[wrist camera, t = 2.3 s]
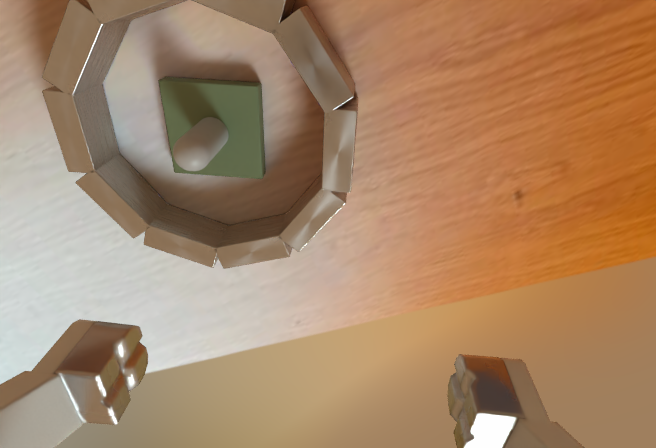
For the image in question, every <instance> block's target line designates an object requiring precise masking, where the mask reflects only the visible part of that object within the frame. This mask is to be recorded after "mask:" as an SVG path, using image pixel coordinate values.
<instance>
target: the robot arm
mask: <svg viewBox="0 0 656 448" xmlns="http://www.w3.org/2000/svg"><path fill="white" fill-rule="evenodd" d="M141 337H142V333H141V330H140V327H139V326H134V325H126V324H117V323H109V322H100V321H89V320H80V319H79V320H78V321H76V322H74V323H72V324H71V326H70V327H69V328H68V329H67V330H66V331H65V333H64V334H63V335H62V336H61V337H60V338H59V340H58V341H57V342H56V343H55V344H54V345H53V347H52V348H51V349H50V350H49V351H48V352H47V354H46V355H45V356H44V357H43V358H42V359H41V361H40V362H39V363H38V364H37V365H36V366H35V368H34V369H33V370H32V371H24V372H22V373H21V374H19V375H17V376H15V377H13V378H12V379H10V380H8V381H6V382H4V383H2V384H1V385H0V448H54V447H56V446H57V445H58V444H59V443H61V442H62V441H63V440H64V439H65V438H67V437H68V436H69V435H70V434H72V433H73V432H74V431H75V430H76V429H78V428H79V427H80V426H81V425H82V422H83V423H97V424H98V423H99V424H112V425H117V423H118V422H119V420H120V418H121V416H122V414H123V413H124V411H125V409H126V407H127V405H128V404H129V402H130V395H129V391H131V390H132V389H133V388H135V387H136V386H138V385H139V384H140V382H141V380H142V378H143V376H144V375H145V371H146V367H147V364H148V354H147V350H146V347H145V346H143V345H142V344H141V343H140V342H139V341H140V339H141ZM454 365H455V369H456V373H455V374H453V375H451V377H450V380H449V384H448V406H449V411H450V415H451V416H452V417H453V418H454V420H455V421H456V422H457V424H456V427H455V430H454V436H455V441H456V445H457V448H584V447H583V446H582V445H581V444H580V443H579V442H578V441H577V440H576V439H574V438H573V437H572V436H571V435H570V434H569V433H568V432H567V431H566V430H565V429H563V427H561V426H560V425H559V424H558V423H557V422H551V421H550V420H549V417H548V415H547V413H546V410H545V408H544V406H543V403H542V401H541V399H540V397H539V394H538V392H537V390H536V387H535V385H534V383H533V380H532V378H531V376H530V373H529V371H528V369H527V367H526V364H525V363H524V362H523V361H522V360H520V359H508V358H498V357H486V356H475V355H462V354H460V355H458V357H457V358H456V361H455V364H454Z"/></svg>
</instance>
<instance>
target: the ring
mask: <svg viewBox="0 0 656 448" xmlns="http://www.w3.org/2000/svg"><path fill="white" fill-rule="evenodd" d="M184 1H187V0H69V3H68V6H67V8H66V11H65V14H64V17H63V20H62V22H61V25H60V28H59V31H58V33H57V36H56V39H55V42H54V44H53V47H52V50H51V53H50V56H49V58H48V61H47V64H46V67H45V69H44V72H43V75H42V78H43V79H45V80H46V81H48V82H49V83H51V84H52V85H54V87H51V88H48V89H45V90H43V91H42V93H43V96H44V99H45V102H46V105H47V108H48V111H49V114H50V117H51V120H52V123H53V126H54V129H55V132H56V135H57V138H58V141H59V144H60V147H61V150H62V154H63V157H64V160H65V163H66V166H67V169H68V171H69V172H81V173H86V174H85V175H84V176H83V177H81V178H80V179H79V180H77V181H76V182H75V183H76V184H77V185H78V186H79V187H80V188H81V189H82V190H84V191H85V192H86V193H87V194H88V195H89V196H90V197H91V198H92V199H93V200H94V201H95V202H96V203H97V204H98V205H99V206H100V207H101V208H102V209H103V210H104V211H105V212H106V213H107V214H108V215H109V216H111V217H112V218H113V219H114V220H115V221H116V222H117V223H118V224H119V225H120V226H121V227H122V228H123V229H124V230H125V231H126V232H127V233H128V234H129V235H130V236H131V237H132V238H135V237H137V236H138V235H140V234H142V233H143V232H145V238H144V245H146V246H149V247H152V248H155V249H158V250H161V251H164V252H167V253H170V254H173V255H176V256H179V257H182V258H185V259H188V260H191V261H194V262H197V263H200V264H203V265H206V266H209V267H212V268H213V267H214V265H215V263H216V262H217V260H218V259H219V261H220V262H221V264H222V266H223V268H224V269H225V268H230V267H236V266H241V265H247V264H252V263H258V262H263V261H269V260H274V259H280V258H285V257H290V254H291V250H292V248H294V249H295V250H297V251H298V252H299V251H300V250H301V249H302V248H303V247H304V246H305V245H306V244H307V243H308V242H309V241H310V240H311V239H312V238H313V237H314V236H315V235H316V234H317V233H318V232H319V231H320V230H321V228H322V227H323V226H324V225H325V224H326V223H327V222H328V221H329V220H330V219H331V218H332V217H333V216H334V215H335V214H336V213H337V212H338V211H339V210H340V209H341V208H342V207H343V206H344V205H345V203H346V197H347V192H349V193H350V192H351V186H352V173H353V161H354V148H355V136H356V123H357V111H358V97H354V91H355V83H354V81H353V80H352V78H351V76H350V75H349V73H348V71H347V70H346V68H345V66H344V65H343V63H342V61H341V60H340V58H339V56H338V55H337V53H336V51H335V50H334V48H333V46H332V45H331V43H330V41H329V40H328V38H327V36H326V35H325V33H324V31H323V30H322V28H321V26H320V25H319V23H318V21H317V20H316V18H315V16H314V15H313V13H312V12H311V10H310V8H309V7H308V5H306V6H303V7H301V8H299V9H297V10H296V11H295V12H294V13H292V14H291V12H292V8H293V5H294V1H295V0H192V1H195V2H197V3H200V4H202V5H204V6H207V7H209V8H212V9H214V10H216V11H219V12H221V13H224V14H226V15H229V16H231V17H233V18H236V19H238V20H241V21H243V22H246V23H248V24H250V25H253V26H255V27H258V28H260V29H263V30H265V31H267V32H270V33H272V34H273V35H274V36H275V38H276V39H277V41H278V42H279V44H280V45H281V47H282V48H283V50H284V51H285V53H286V54H287V56H288V57H289V59H290V60H291V62H292V63H293V65H294V66H295V68H296V70H297V71H298V73H299V74H300V76H301V77H302V79H303V80H304V82H305V83H306V85H307V86H308V88H309V89H310V91H311V92H312V94H313V95H314V97H315V98H316V100H317V101H318V103H319V104H320V106H321V108H322V109H323V111H324V135H323V162H322V173H321V175H320V176H319V177H318V178H317V179H316V180H315V181H314V183H313V184H312V185H311V186H310V187H309V188H308V189H307V191H306V192H305V193H304V194H303V195H302V196H301V197H300V199H299V200H298V201H297V202H296V203H295V204H294V205H293V207H292V208H291V209H290V210H289V211H288V212H287V213H286V214H282V215H277V216H272V217H268V218H263V219H258V220H253V221H248V222H243V223H239V224H234V225H229V226H228V225H225V224H223V223H220V222H217V221H214V220H211V219H208V218H205V217H202V216H200V215H197V214H194V213H191V212H188V211H185V210H182V209H180V208H177V207H174V206H171V205H168V204H167V203H166V202H165V201H164V200H163V199H162V198H161V197H160V196H159V195H158V193H157V192H156V191H155V190H154V189H153V188H152V187H151V186H150V185H149V184H148V183H147V182H146V181H145V180H144V179H143V178H142V177H141V175H140V174H139V173H138V172H137V171H136V170H135V169H134V168H133V167H132V166H131V165H130V164H129V163H128V162H127V161H126V160H125V159H124V158H123V156H122V155H121V154H120V153H119V149H118V145H117V141H116V137H115V133H114V129H113V125H112V121H111V117H110V113H109V109H108V105H107V101H106V97H105V93H104V89H103V85H102V84H103V81H104V79H105V77H106V75H107V72H108V70H109V68H110V66H111V64H112V61H113V59H114V57H115V55H116V52H117V50H118V48H119V46H120V44H121V41H122V39H123V37H124V35H125V32H126V30H127V28H128V26H129V24H130V21H131V20H132V19H135V18H138V17H141V16H144V15H147V14H149V13H152V12H155V11H158V10H161V9H164V8H167V7H170V6H173V5H176V4H178V3H181V2H184Z"/></svg>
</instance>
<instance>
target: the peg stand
mask: <svg viewBox="0 0 656 448" xmlns="http://www.w3.org/2000/svg"><path fill="white" fill-rule="evenodd" d="M159 87H160V93H161V98H162V104H163V110H164V116H165V121H166V127H167V133H168V138H169V144H170V150H171V155H172V161H173V167H174V172H175V173H188V174H201V175H215V176H229V177H242V178H256V179H262V178H263V176H264V175H265V152H264V130H263V108H262V86H261V83H259V82H242V81H226V80H210V79H194V78H177V77H164V78H162V79H160V80H159Z"/></svg>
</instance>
